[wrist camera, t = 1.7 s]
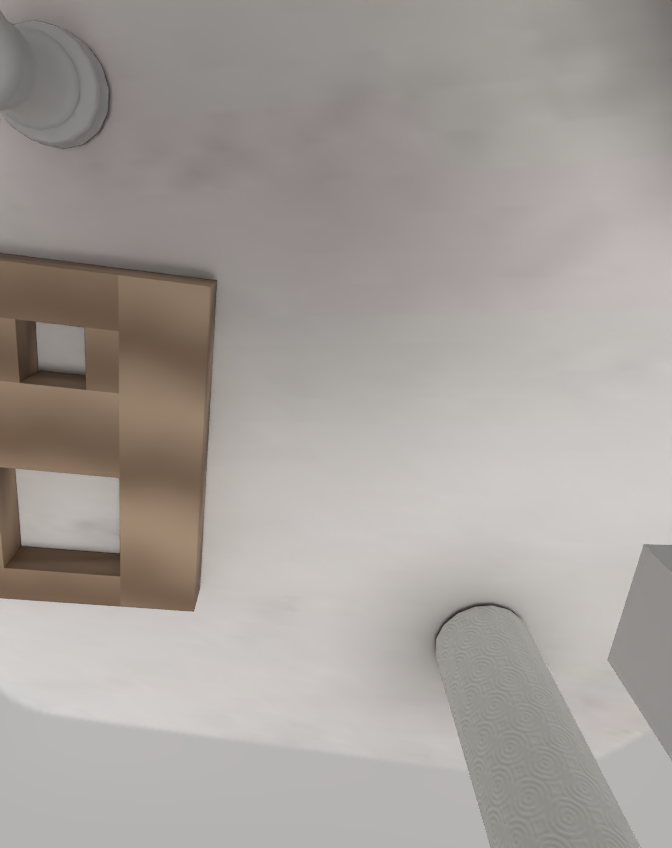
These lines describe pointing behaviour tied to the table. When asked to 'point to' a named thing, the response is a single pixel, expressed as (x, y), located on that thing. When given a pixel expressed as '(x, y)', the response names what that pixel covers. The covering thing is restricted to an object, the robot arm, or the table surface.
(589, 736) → the table surface
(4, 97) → the rook chess piece
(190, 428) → the socket board
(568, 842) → the paper towel roll
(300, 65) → the table surface
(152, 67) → the table surface
